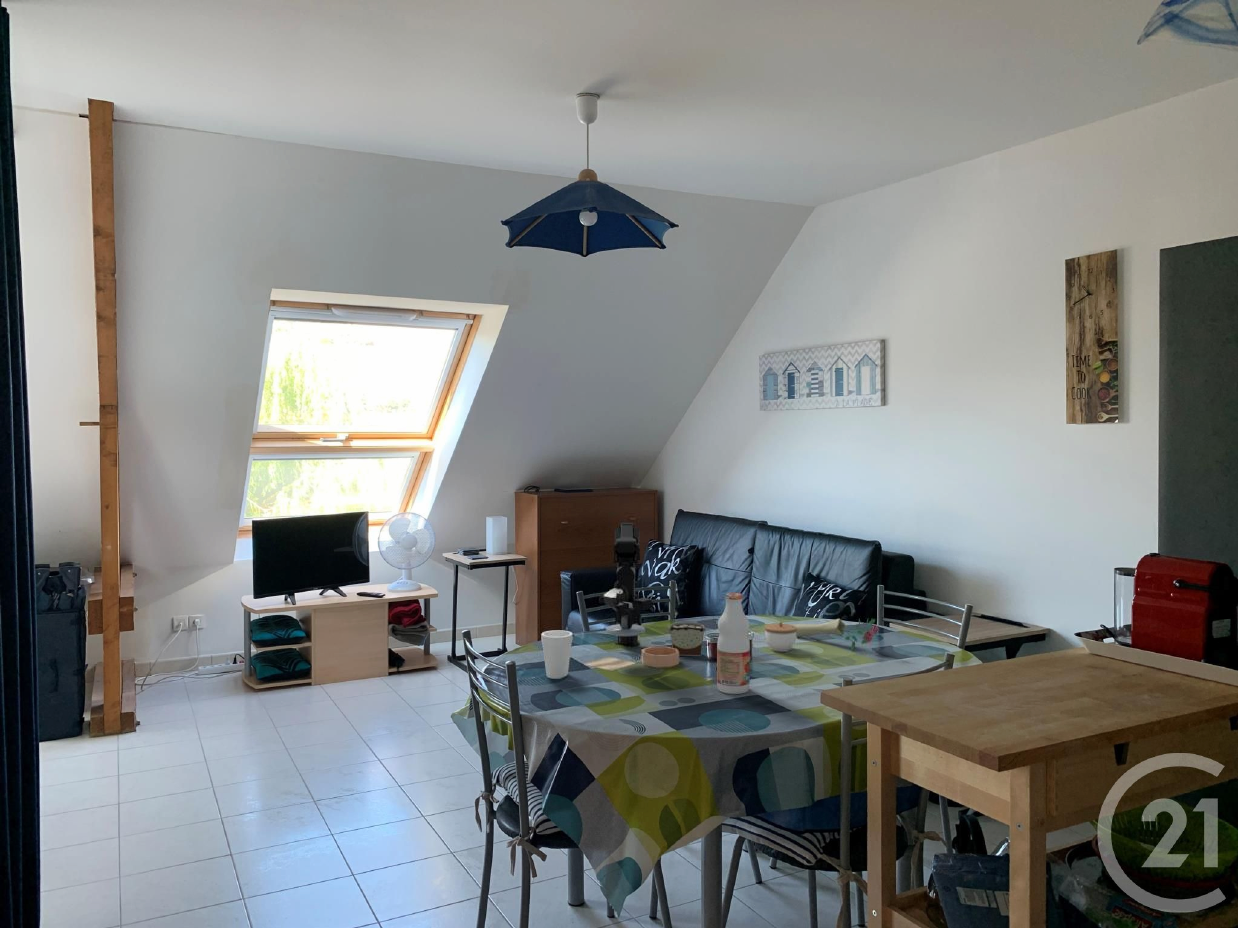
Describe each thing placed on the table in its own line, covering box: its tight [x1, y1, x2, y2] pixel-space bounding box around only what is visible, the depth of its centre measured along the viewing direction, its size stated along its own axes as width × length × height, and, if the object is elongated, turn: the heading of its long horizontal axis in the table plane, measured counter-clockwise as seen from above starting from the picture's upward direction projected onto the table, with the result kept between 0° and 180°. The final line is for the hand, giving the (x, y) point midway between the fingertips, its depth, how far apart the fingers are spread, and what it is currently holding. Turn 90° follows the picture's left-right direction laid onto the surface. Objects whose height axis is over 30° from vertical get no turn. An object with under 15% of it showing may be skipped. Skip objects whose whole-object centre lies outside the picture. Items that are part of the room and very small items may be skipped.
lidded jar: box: [764, 621, 797, 653], centre depth 315 cm, size 11×11×9 cm
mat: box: [583, 656, 637, 672], centre depth 296 cm, size 12×12×1 cm
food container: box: [668, 621, 707, 657], centre depth 310 cm, size 12×6×10 cm, turn 84°
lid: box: [605, 615, 646, 637], centre depth 295 cm, size 12×12×5 cm
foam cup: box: [540, 629, 574, 680], centre depth 283 cm, size 10×9×13 cm
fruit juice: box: [716, 592, 751, 695], centre depth 268 cm, size 9×9×28 cm
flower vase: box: [793, 618, 879, 652], centre depth 320 cm, size 12×12×35 cm
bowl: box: [641, 645, 680, 668], centre depth 297 cm, size 12×12×4 cm
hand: (626, 627), depth 296 cm, fingers closed on lid, 3 cm apart
